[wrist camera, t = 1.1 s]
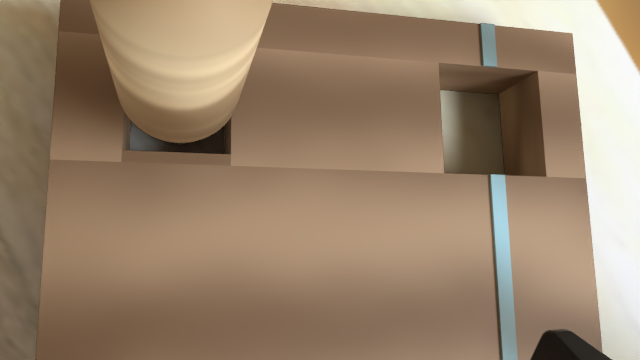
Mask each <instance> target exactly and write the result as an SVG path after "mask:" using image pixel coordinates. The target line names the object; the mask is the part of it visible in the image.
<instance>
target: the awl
mask: <svg viewBox="0 0 640 360" xmlns="http://www.w3.org/2000/svg"><path fill="white" fill-rule="evenodd" d="M272 2H273V0H90V4H91V7H92V10H93V14H94V17H95V21H96V24H97V27H98V31H99V34H100V37H101V41H102V44H103V48H104V51H105V54H106V58H107V61H108V64H109V68H110V71H111V75H112V78H113V81H114V85H115V88H116V92H117V95H118V98H119V101H120V104H121V106H122V108H123V110H124V112H125V113H126V115H127V116H128V118H129V119H130V120H131V121H132V122H133V123H134V124H135V125H136V126H137V127H138V128H139V129H141V130H142V131H144V132H145V133H146V134H148V135H150V136H152V137H154V138H157V139H160V140H163V141H168V142H170V143H173V144H185V143H188V142H194V141H198V140H201V139H204V138H206V137H209V136H210V135H212V134H214V133H216V132H217V131H218V130H220V129H221V128H222V127H223V126H224V125H225V124H226V123H227V122H228V120H229V119H230V118H231V116H232V115H233V113H234V111H235V109H236V106H237V104H238V101H239V98H240V95H241V92H242V89H243V86H244V83H245V80H246V78H247V75H248V72H249V69H250V66H251V63H252V60H253V57H254V54H255V51H256V48H257V46H258V43H259V40H260V37H261V34H262V31H263V28H264V25H265V22H266V19H267V17H268V14H269V11H270V8H271V5H272Z"/></svg>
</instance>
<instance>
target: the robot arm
mask: <svg viewBox="0 0 640 360" xmlns="http://www.w3.org/2000/svg"><path fill="white" fill-rule="evenodd" d="M530 360H612V359H610V358H609V357H607V356H606V355H605V354H603V353H602V352H600V351H599V350H598V349H596V348H595V347H593V346H592V345H590V344H589V343H588V342H586V341H585V340H583V339H582V338H581V337H579V336H578V335H576V334H575V333H573V332H572V331H570V330H567V329H555V330H547V331H545V332H544V333H543V334H542V336H541V338H540V340H539V342H538V344H537V346H536V348H535V350H534V353H533V355H532V357H531V359H530Z"/></svg>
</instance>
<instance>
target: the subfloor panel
mask: <svg viewBox="0 0 640 360" xmlns="http://www.w3.org/2000/svg"><path fill="white" fill-rule="evenodd" d="M440 90H450V91H464V92H478V93H492V94H499V101H500V115H501V129H502V144H503V158H504V172H505V175H495V174H490V175H481V174H452V173H444V161H443V142H442V122H441V102H440ZM130 126H131V120H130V119H129V118H128V116H127V115H126V113H125V112H124V110H123V108H122V106H121V104H120V101H119V98H118V95H117V92H116V88H115V85H114V81H113V78H112V75H111V71H110V68H109V64H108V61H107V58H106V54H105V51H104V48H103V44H102V41H101V37H100V34H99V31H98V27H97V24H96V21H95V17H94V14H93V10H92V7H91V4H90V0H61V3H60V17H59V31H58V45H57V60H56V74H55V88H54V103H53V117H52V131H51V146H50V160H49V174H48V189H47V203H46V217H45V231H44V246H43V260H42V274H41V289H40V303H39V317H38V332H37V346H36V360H530V359H531V357H532V355H533V353H534V350H535V348H536V346H537V344H538V342H539V340H540V338H541V336H542V334H543V333H544V332H545V331H547V330H555V329H567V330H570V331H572V332H573V333H575V334H576V335H578V336H579V337H581V338H582V339H583V340H585V341H586V342H588V343H589V344H590V345H592V346H593V347H595V348H596V349H598V350H599V351H600V352H602V343H601V332H600V322H599V311H598V300H597V290H596V279H595V269H594V258H593V247H592V237H591V226H590V216H589V205H588V195H587V184H586V173H585V163H584V152H583V142H582V131H581V120H580V110H579V99H578V89H577V78H576V67H575V57H574V46H573V36H572V33H563V32H553V31H543V30H534V29H524V28H514V27H504V26H494V24H486V23H480V24H475V23H465V22H455V21H445V20H435V19H425V18H416V17H406V16H396V15H386V14H376V13H366V12H357V11H347V10H337V9H327V8H317V7H307V6H298V5H288V4H278V3H272V5H271V8H270V11H269V14H268V17H267V19H266V22H265V25H264V28H263V31H262V34H261V37H260V40H259V43H258V46H257V48H256V51H255V54H254V57H253V60H252V63H251V66H250V69H249V72H248V75H247V78H246V80H245V83H244V86H243V89H242V92H241V95H240V98H239V101H238V104H237V106H236V109H235V111H234V113H233V115H232V116H231V118H230V119H229V120H228V122H227V123H226V124H225V140H224V154H206V153H181V152H156V151H130V150H129V148H130Z"/></svg>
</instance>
